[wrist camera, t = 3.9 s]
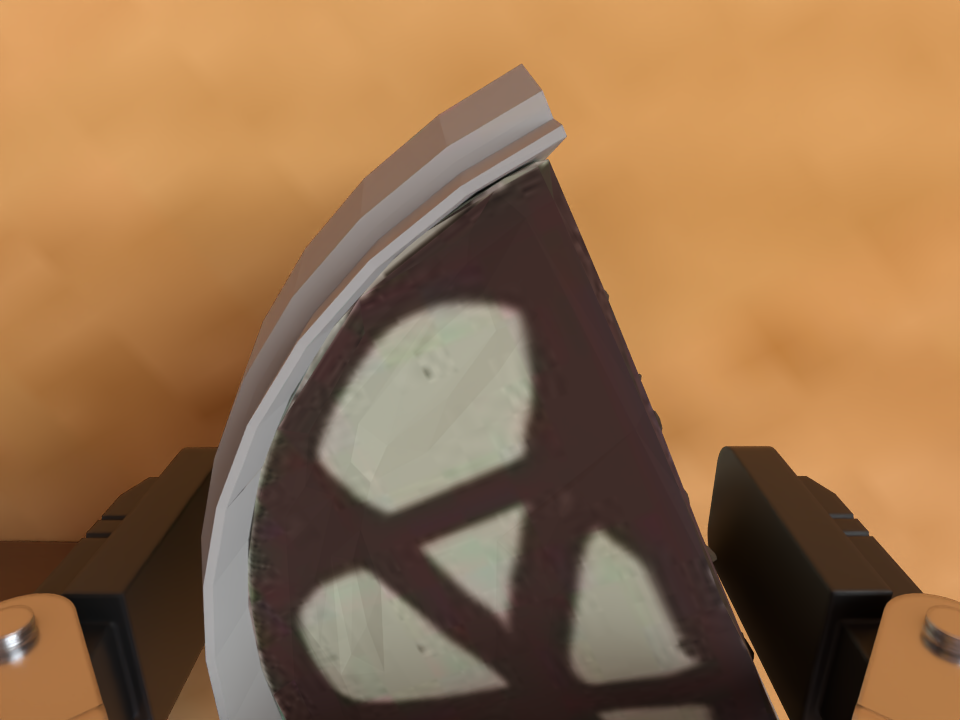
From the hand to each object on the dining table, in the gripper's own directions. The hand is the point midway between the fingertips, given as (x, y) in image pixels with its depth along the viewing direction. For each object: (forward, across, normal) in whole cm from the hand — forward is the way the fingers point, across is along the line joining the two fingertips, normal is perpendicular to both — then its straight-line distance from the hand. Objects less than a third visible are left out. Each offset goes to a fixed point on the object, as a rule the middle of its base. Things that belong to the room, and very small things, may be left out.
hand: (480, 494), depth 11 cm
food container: (+5, 0, 0) cm, 5 cm away
